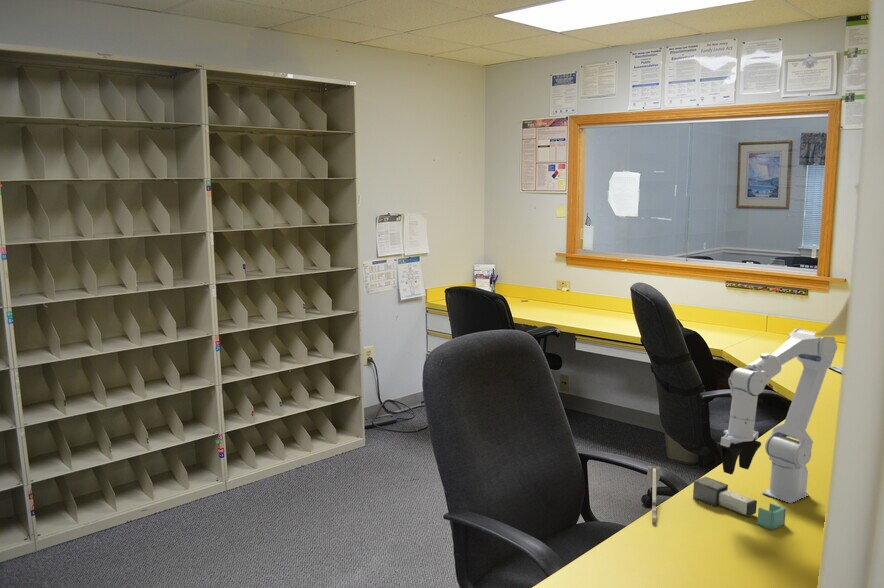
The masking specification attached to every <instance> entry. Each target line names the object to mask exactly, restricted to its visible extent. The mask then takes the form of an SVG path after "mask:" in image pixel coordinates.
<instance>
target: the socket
mask: <svg viewBox="0 0 884 588" xmlns="http://www.w3.org/2000/svg"><path fill="white" fill-rule="evenodd" d="M757 509H758V510H757V511H758V512H757V522H756V523H757V526H761V527H763V528H765V529H768V530H770V531H774V530H776V529H778V528H781V527H783V526H785V525H786V524H785V522H786V511H787V508H786V507H783V506H781V505H778V504H776V503H772V502H770V503H769V507H768V509H765V508H762V507H758V508H757ZM784 524H785V525H784ZM782 525H783V526H782Z"/></svg>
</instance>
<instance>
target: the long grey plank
mask: <svg viewBox="0 0 884 588" xmlns="http://www.w3.org/2000/svg"><path fill="white" fill-rule="evenodd" d="M717 504H719V506H722V507H724V508H726V509H728V510H732V511H734V512H737V513H739V514H741V515H745V516H747V517H750V516H752V515H755V514H757V506H758V505H757V504H758V501H757V500H756V499H753V498H751V497H748V496H745V495H743V494H740V493H738V492H735V491H732V490H729V489H728V490H727V489H724V488H723V489H721V490H718V491H717Z"/></svg>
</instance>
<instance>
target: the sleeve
mask: <svg viewBox="0 0 884 588" xmlns="http://www.w3.org/2000/svg"><path fill="white" fill-rule="evenodd" d="M723 488H724V489H727V490H729V484H727V483H723V482H721V481H718V480H716V479H713V478H710V477H707V476H704V477H701V478H698V479H695V480H693V491H692V499H694V498H695V499H694V500H696V499H697V501H699V500H700V502H701V501H702V503H704V504H706V505H709V506H711V505H712V507H713V508H716V506H717V507H719V506H720V505H719V504H717V491H718V490H721V489H723ZM718 505H719V506H718Z"/></svg>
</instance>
